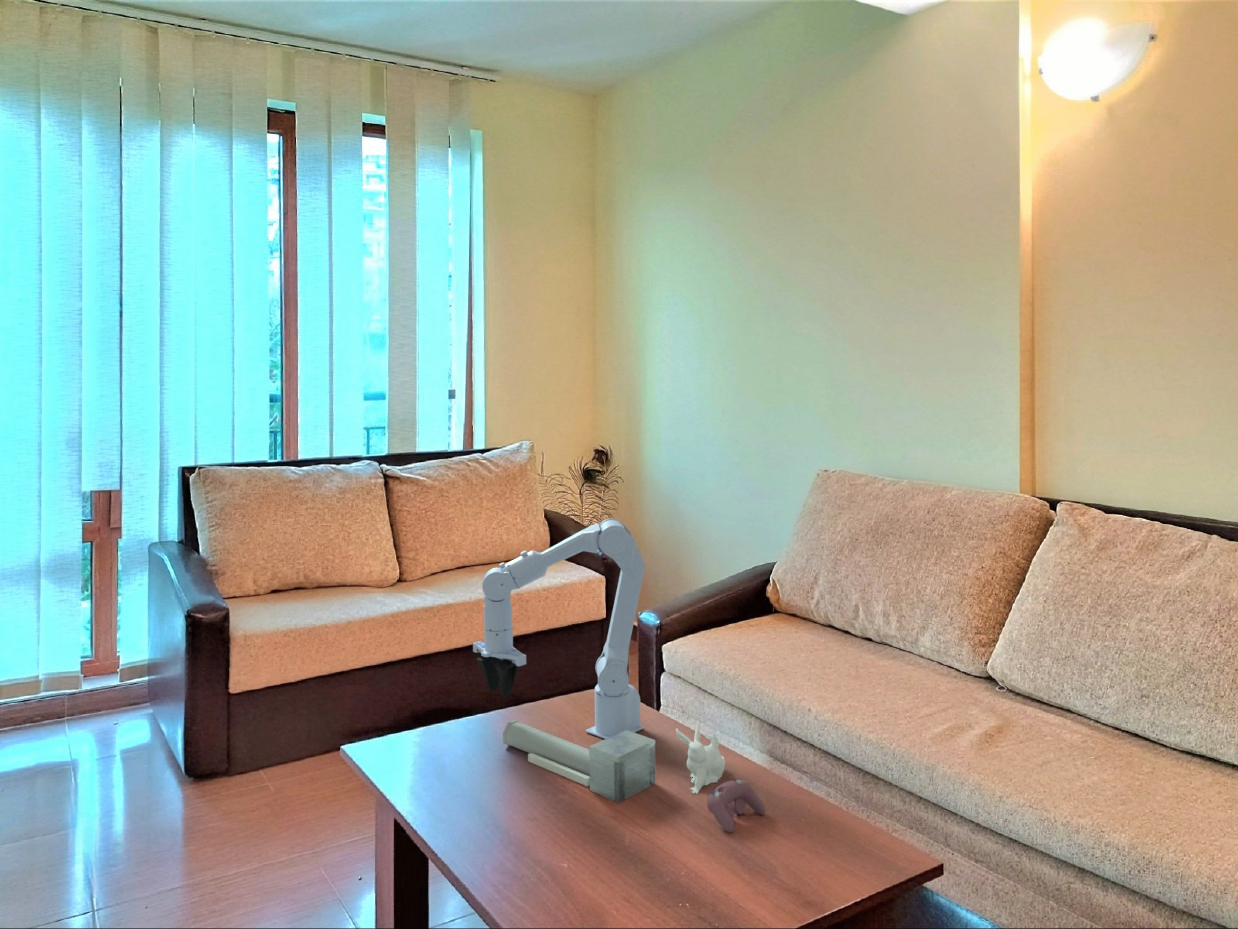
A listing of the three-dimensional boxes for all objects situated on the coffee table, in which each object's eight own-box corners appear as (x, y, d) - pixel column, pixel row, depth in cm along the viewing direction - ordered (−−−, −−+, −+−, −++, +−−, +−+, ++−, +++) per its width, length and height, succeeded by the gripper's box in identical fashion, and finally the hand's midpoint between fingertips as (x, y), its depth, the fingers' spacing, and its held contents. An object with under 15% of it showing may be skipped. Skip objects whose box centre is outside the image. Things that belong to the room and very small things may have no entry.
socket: (626, 772, 168) (626, 730, 167) (655, 783, 163) (655, 740, 162) (589, 790, 161) (589, 746, 160) (618, 802, 156) (618, 757, 155)
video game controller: (749, 815, 154) (735, 775, 156) (769, 812, 151) (754, 771, 153) (713, 837, 147) (698, 794, 149) (733, 834, 144) (717, 790, 146)
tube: (615, 754, 167) (524, 720, 183) (597, 754, 163) (505, 719, 179) (609, 784, 166) (518, 746, 183) (591, 784, 162) (499, 746, 179)
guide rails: (559, 748, 179) (558, 741, 179) (617, 771, 168) (617, 764, 168) (528, 761, 173) (527, 754, 173) (587, 786, 162) (587, 779, 162)
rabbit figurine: (695, 796, 158) (695, 742, 157) (662, 783, 163) (662, 731, 162) (734, 773, 167) (735, 723, 166) (702, 762, 172) (702, 713, 171)
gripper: (460, 625, 184) (462, 689, 186) (506, 638, 175) (508, 706, 176) (487, 618, 190) (489, 680, 191) (533, 631, 180) (534, 696, 181)
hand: (499, 692), depth 184 cm, fingers open, 4 cm apart
